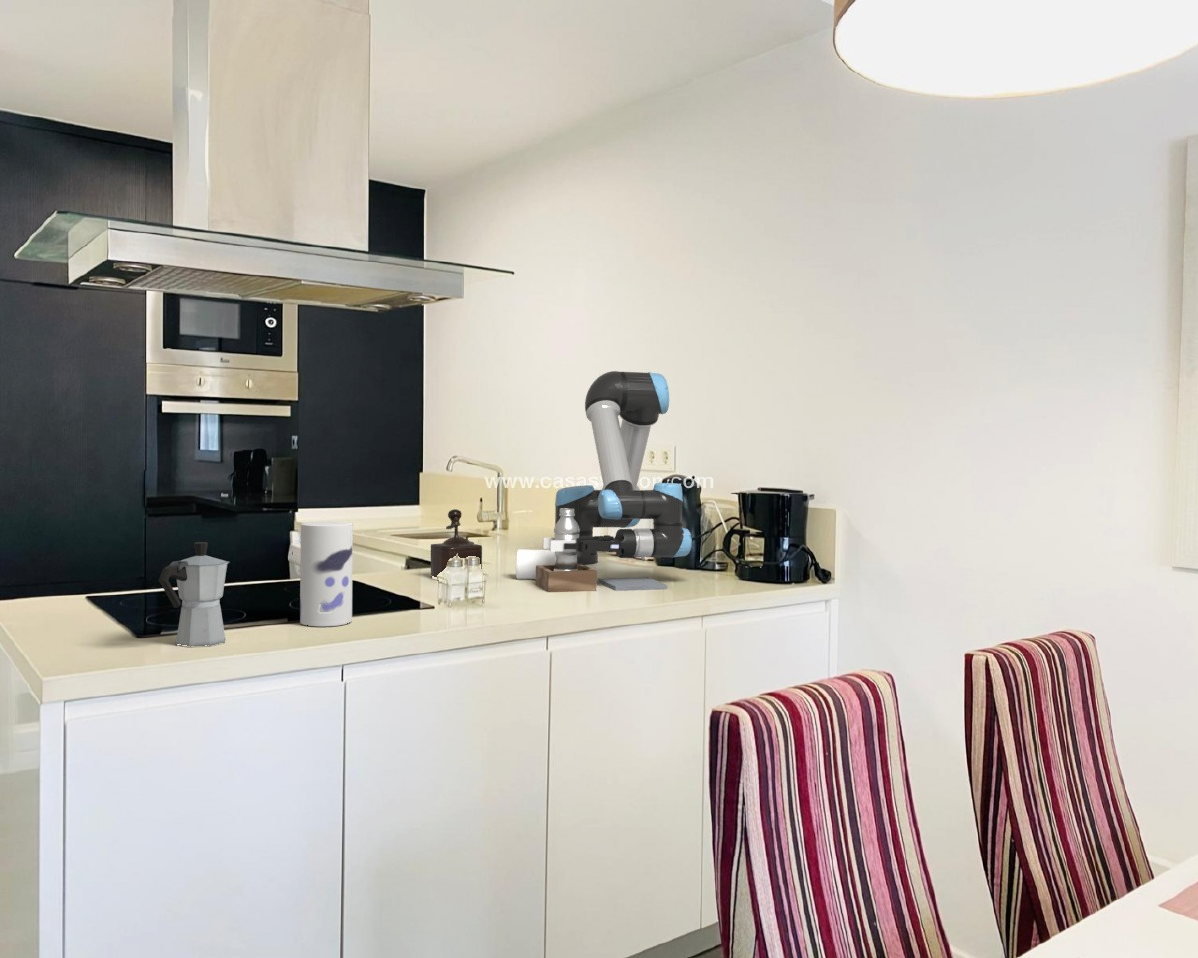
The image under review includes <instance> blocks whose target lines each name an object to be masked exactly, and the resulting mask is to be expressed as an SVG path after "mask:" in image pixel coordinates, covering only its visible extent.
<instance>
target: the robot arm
mask: <svg viewBox="0 0 1198 958" xmlns="http://www.w3.org/2000/svg"><path fill="white" fill-rule="evenodd" d="M669 390H670V389H669V384H668V381H667V379H666V378H665V376H664V375H663V374H661V373H659V372H658V373H657V372H651V371H648V372H642V371H641V372H639V371H638V372H636V371H620V370H619V371H618V370H614V371H608V372H605V373H603V374H601V375H599V376H598V377H597V378H596V379H595V380H594V381H593V382H592V383H591V385H590V386H589V389H588V391H587V392H586V395H585V400H584V411H585V415H586V419H587V420H588V421H589V422H590V423H591V427H592V428H591V429H592V433H593V437H594V444H595V448H596V453H597V459H598V464H599V468H600V469H599V470H600V474H601V479H602V484H603V486H602V489H595V488H594V485H590V484H588V485H587V484H586V485H584V484H583V485H573V486H567V487H563V488H560V489H558V490H557V492H556V494H555V502H554V509H555V510H554V511H555V513H554V518H555V519H554V522H555V523H554V526H555V525H556V524H557V522H558V521H559V519H560V516H559V514H560V509H561V508H571V509H574V514H575V516H573V517H574V520H575V521H576V522H577V524H578V526H579V529H580V533H579V538H577V543H576V540H555V537H543V538H542V550H546V549H549V550H550V552H555V557H556V551H577V564H582V565H587V564H588V565H590V564H596V563H598V562H599V555H598V554H599V553H600V552H607V553H614V552H615V554H616V556H617V557H618V558H619V559H631V558H633V557H634V559H635V558H638V559H639V558H640V559H641V560H642V561H644V560H645V559H646V558H677V557H686V556H688V554H690V552H691V550H692V545H693V539H692V534H691V532H690V530H689V529H688V528H684V527H683V502H684V500H683V487H682V485H681V484H680V483H677V482H676V483H675V482H674V483H673V482H671V483H670V482H669V483H668V482H656V483H654V485H653V488H652V489H645V490H644V489H642V490H641V489H640V487H639V486H638V481H639V478H640V474H641V469H642V466H643V462H644V461H643V460H644V456H645V453H646V449H647V445H648V444H647V443H648V439H649V436H650V432H651V427H652V426H653V425H655V424H656V423H657V422H658V420H659V416H660V415H664V414H666V413H668V410H669V406H670V392H669ZM619 417H620V419H622V420H621V423H620V420H619ZM641 520H653V528H633V529H632V528H631V527H635V526H637V524H639V522H640V521H641ZM594 528H619V529H618V530H616V532H615V536H611V535H608V534H607V535H606V534H605V535H594V534H593V533H594V532H593V530H594ZM576 549H577V550H576Z"/></svg>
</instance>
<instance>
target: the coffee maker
mask: <svg viewBox="0 0 1198 958" xmlns="http://www.w3.org/2000/svg"><path fill="white" fill-rule="evenodd" d="M208 544H209V542H208V541H205V542H204V541H199V542H197V541H196V542H194V543H193V546H194V552H195V555H193V556H190V557H188V558H184V559H182V560H175V561H172V562H170V564H169V565H167V566H165V567H164V568H162V571H161V573H160V576H159V579H158V582H159V584H160V586H161V587H162V588H163V590H164V592H165V594H166V596H167V597H168V599H169V601H170V602H171V605H172V606H173V608H175V609H178V608H179V607H180V605H181V608H180V616H179V622H178V628H177V634H176V639H175V640H176V641H175V644H176V643H177V644H181V645H187V646H205V645H207V646H208V645H209V646H208V647H212V646H211V645H214V646H216V645H215V644H218V645H220V644H219V643H223V644H225V643H226V634H225V626H224V621H223V614H222V608H221V604H220V601H221V600H220V599H221V598H222V597H223V596H224V588H225V584H226V583H225V581H226V576H227V575H226V573H227V568H228V564H229V563H230V561H227V560H223V559H219V558H218V557H217V558H216V557H212V556H209V555H207V550H208ZM170 578H172V579H174V580H176V584H177V591H178V592H177V593H178V595H177V593H176V591H175V590H174V588H173V586H172V584H171V583H170V581H169V579H170ZM181 600H182V601H181Z"/></svg>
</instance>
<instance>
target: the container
mask: <svg viewBox="0 0 1198 958" xmlns="http://www.w3.org/2000/svg"><path fill="white" fill-rule="evenodd" d="M353 525H354V524H353V523H352V522H348V521H332V520H331V521H329V520H328V521H327V520H326V521H322V520H321V521H308V522H302V523H300V573H299V574H300V575H299V577H300V578H299V579H300V582H299V583H300V584H299V586H300V588H299V590H300V591H299V592H300V593H299V597H300V598H299V599H300V600H299V601H300V602H299V618H300V619H299V624H301V625H304V626H307V625H308V626H309V627H337V626H344V625H347V623H348V624H350V623H352V622H351V621H353V553H354V552H353V550H354V549H353V546H354V545H353V544H354V543H353V542H354V540H353V536H354V534H353V530H354V526H353ZM349 622H350V623H349Z"/></svg>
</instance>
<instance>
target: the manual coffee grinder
mask: <svg viewBox="0 0 1198 958" xmlns="http://www.w3.org/2000/svg"><path fill="white" fill-rule="evenodd" d="M447 518H448V519H450V524H449V525H447V526H445V530H452V529H454V534H453V537H450V538H449V537H448V539H445V540H444V541H443V542H441V543H433V544H430V576H431V575H432V576H434V577H437V575H438V574H439V573H440V572H442V571H443V570H444V569H445V568H446V565H447V562H448V560H449V559H450V558H453V557H454V556H456V554H457V553H458V556H459V557H460V558H466V557H468V556H476V557H479V558H480V564H481V569H482V570H483V568H482V567H483V546H482V545H481V544H476V543H475V542H474V541H470V540H469V535H467V536H466V537H463V536H460V535H459V526H461V523H460V519H461V518H462V511H461V510H459V509H455V508H453V509H451V510H449V511H448V513H447Z"/></svg>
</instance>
